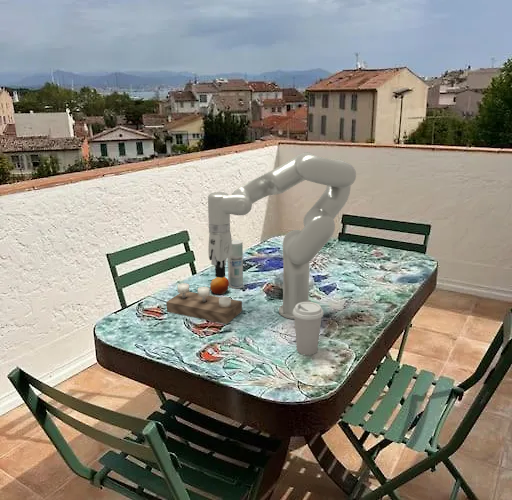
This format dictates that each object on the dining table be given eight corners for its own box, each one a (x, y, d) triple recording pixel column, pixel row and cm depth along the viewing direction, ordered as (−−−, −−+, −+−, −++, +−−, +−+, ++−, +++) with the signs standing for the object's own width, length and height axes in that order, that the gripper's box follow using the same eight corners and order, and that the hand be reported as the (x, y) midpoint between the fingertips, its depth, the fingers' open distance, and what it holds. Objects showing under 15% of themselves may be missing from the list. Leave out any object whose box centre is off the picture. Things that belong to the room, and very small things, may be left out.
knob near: (233, 310, 171) (232, 297, 169) (227, 315, 167) (227, 302, 165) (222, 308, 173) (222, 296, 171) (217, 313, 169) (216, 300, 167)
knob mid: (212, 300, 174) (211, 287, 172) (206, 304, 170) (205, 291, 168) (202, 298, 175) (201, 285, 174) (196, 302, 172) (195, 290, 170)
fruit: (230, 293, 186) (220, 277, 185) (215, 301, 189) (204, 285, 188) (235, 286, 194) (225, 270, 193) (220, 294, 197) (210, 278, 195)
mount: (242, 311, 174) (241, 301, 173) (227, 324, 163) (226, 313, 162) (184, 300, 184) (183, 290, 183) (166, 311, 174) (166, 301, 173)
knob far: (191, 296, 177) (191, 284, 176) (185, 300, 173) (184, 288, 172) (182, 294, 179) (181, 282, 177) (176, 299, 175) (175, 286, 174)
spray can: (240, 282, 202) (240, 239, 196) (245, 287, 196) (244, 243, 190) (226, 284, 200) (225, 240, 195) (230, 289, 195) (229, 244, 189)
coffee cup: (289, 343, 149) (290, 301, 145) (318, 342, 150) (320, 300, 146) (294, 358, 140) (295, 314, 136) (325, 357, 141) (326, 312, 137)
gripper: (218, 234, 153) (219, 285, 158) (238, 224, 166) (238, 271, 171) (199, 231, 156) (200, 281, 161) (220, 222, 169) (221, 269, 174)
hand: (220, 276), depth 166 cm, fingers closed
